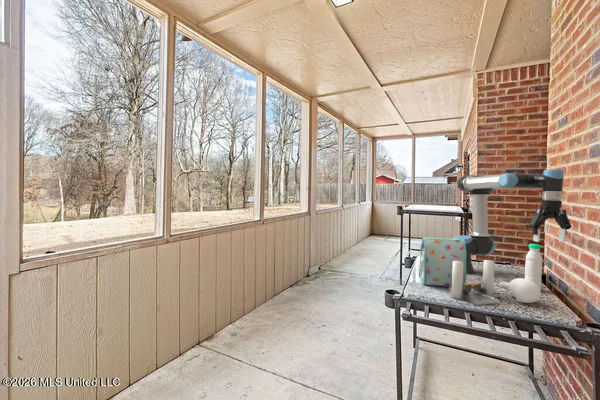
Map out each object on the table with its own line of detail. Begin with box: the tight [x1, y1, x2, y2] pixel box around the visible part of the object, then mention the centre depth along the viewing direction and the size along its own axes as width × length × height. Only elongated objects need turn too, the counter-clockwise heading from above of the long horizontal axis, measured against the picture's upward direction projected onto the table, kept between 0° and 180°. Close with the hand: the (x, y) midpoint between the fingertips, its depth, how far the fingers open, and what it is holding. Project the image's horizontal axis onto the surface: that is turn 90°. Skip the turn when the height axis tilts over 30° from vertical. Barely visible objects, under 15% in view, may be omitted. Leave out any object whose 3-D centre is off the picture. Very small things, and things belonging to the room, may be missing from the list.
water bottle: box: [524, 243, 544, 292], centre depth 149 cm, size 7×7×25 cm
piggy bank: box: [499, 277, 542, 304], centre depth 133 cm, size 12×12×15 cm
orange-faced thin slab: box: [464, 282, 482, 292], centre depth 137 cm, size 1×9×4 cm, turn 101°
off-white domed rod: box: [481, 259, 495, 298], centre depth 138 cm, size 5×5×18 cm
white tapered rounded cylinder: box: [449, 261, 464, 301], centre depth 135 cm, size 5×5×18 cm
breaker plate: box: [448, 287, 500, 306], centre depth 137 cm, size 18×12×4 cm, turn 11°
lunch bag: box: [418, 237, 467, 288], centre depth 156 cm, size 23×16×27 cm
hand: (549, 241), depth 139 cm, fingers open, 13 cm apart
